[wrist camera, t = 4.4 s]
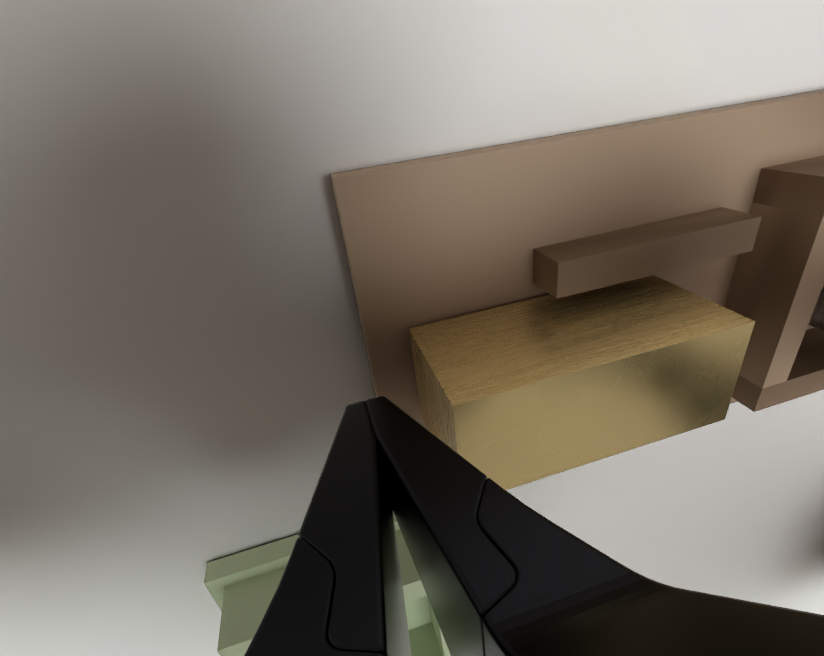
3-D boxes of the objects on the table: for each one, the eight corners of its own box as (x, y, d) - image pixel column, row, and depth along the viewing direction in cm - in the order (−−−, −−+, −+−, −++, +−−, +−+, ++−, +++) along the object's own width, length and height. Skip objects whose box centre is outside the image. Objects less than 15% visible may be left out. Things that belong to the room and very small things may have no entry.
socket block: (846, 352, 16) (924, 386, 14) (395, 491, 13) (415, 559, 11) (976, 63, 11) (1117, 55, 9) (330, 174, 8) (344, 195, 6)
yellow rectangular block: (632, 353, 12) (725, 419, 9) (420, 413, 11) (462, 504, 8) (645, 271, 10) (755, 321, 8) (408, 328, 9) (452, 406, 7)
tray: (460, 611, 17) (483, 676, 15) (276, 678, 15) (276, 759, 13) (444, 487, 13) (472, 552, 11) (207, 562, 12) (193, 648, 10)
